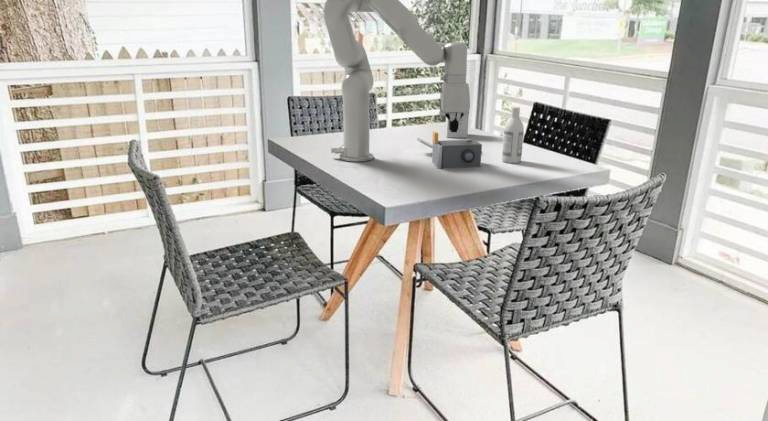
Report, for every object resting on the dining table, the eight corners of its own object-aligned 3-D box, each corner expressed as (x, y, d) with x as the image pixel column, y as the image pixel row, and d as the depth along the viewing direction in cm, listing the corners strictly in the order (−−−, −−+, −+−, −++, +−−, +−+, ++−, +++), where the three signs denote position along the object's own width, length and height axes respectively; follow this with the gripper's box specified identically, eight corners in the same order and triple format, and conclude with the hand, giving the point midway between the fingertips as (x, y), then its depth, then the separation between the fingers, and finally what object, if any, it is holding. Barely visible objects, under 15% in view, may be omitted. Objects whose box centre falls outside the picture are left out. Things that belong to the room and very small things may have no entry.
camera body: (443, 169, 207) (444, 145, 204) (436, 162, 216) (437, 139, 213) (481, 167, 209) (483, 143, 206) (473, 161, 218) (474, 138, 215)
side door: (438, 168, 207) (439, 136, 203) (431, 162, 216) (432, 131, 212) (441, 168, 207) (443, 136, 204) (435, 162, 216) (436, 131, 212)
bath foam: (518, 159, 222) (523, 105, 215) (522, 163, 215) (527, 108, 209) (500, 158, 222) (504, 105, 215) (503, 163, 215) (508, 108, 209)
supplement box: (467, 138, 257) (470, 99, 251) (446, 137, 257) (448, 98, 251) (465, 133, 266) (467, 95, 260) (444, 133, 266) (446, 95, 260)
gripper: (437, 81, 201) (436, 134, 207) (479, 80, 203) (477, 132, 209) (431, 78, 208) (430, 130, 214) (472, 77, 210) (470, 128, 216)
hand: (453, 131), depth 212 cm, fingers closed
